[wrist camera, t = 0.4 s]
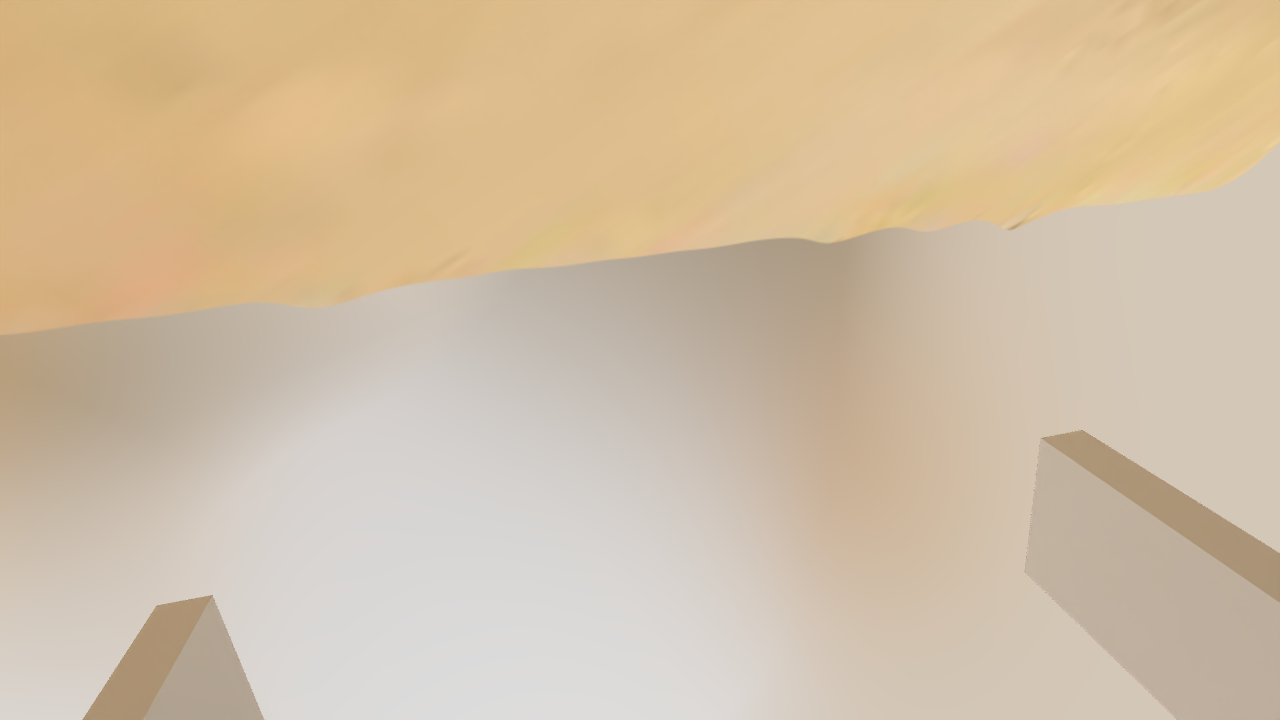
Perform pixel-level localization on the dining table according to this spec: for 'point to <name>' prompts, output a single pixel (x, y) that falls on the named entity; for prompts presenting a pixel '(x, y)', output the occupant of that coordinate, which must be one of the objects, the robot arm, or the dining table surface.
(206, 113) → the dining table surface
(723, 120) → the dining table surface
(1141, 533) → the robot arm
